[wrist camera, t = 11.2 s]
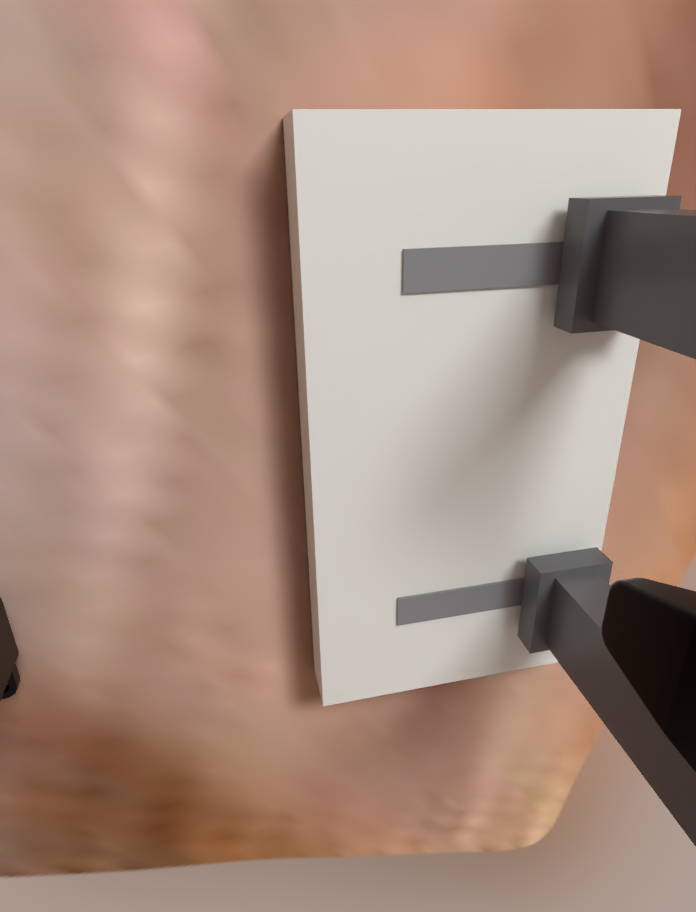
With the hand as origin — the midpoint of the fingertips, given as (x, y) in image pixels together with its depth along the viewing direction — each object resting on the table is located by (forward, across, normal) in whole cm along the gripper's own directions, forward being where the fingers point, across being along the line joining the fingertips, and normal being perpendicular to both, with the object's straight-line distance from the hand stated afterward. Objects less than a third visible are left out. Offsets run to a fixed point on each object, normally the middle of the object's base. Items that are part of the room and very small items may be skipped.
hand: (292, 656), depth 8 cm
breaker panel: (+13, +7, -3) cm, 15 cm away
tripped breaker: (+11, +11, -9) cm, 18 cm away
